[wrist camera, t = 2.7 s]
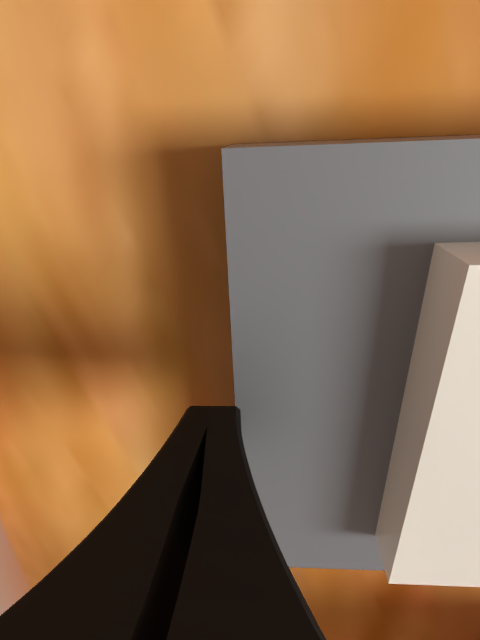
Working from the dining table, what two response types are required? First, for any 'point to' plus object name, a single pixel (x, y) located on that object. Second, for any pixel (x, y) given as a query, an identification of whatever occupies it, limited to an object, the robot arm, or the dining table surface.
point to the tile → (438, 435)
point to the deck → (333, 319)
